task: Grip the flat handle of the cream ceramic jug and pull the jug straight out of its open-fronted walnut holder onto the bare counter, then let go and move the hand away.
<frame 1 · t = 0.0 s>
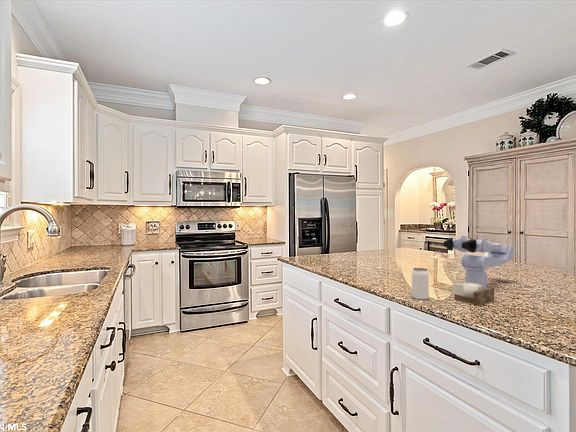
hand: (453, 244, 140), 22 cm above the table, tool horizontal, fingers open, 7 cm apart
holder: (471, 299, 133), on the table
jug: (471, 300, 133), on the table
can: (420, 298, 136), on the table
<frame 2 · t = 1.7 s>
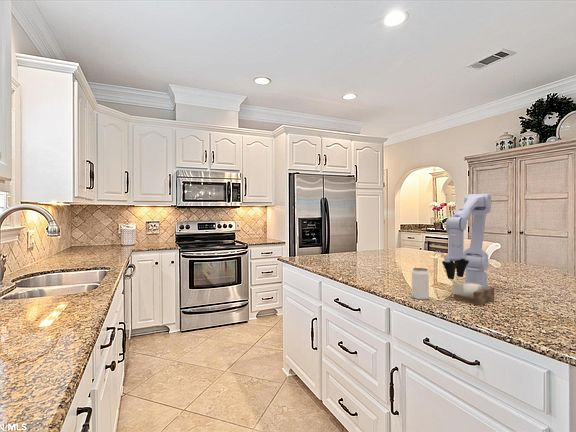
hand: (455, 277, 138), 8 cm above the table, tool pointing down, fingers open, 7 cm apart
nothing on the table moved.
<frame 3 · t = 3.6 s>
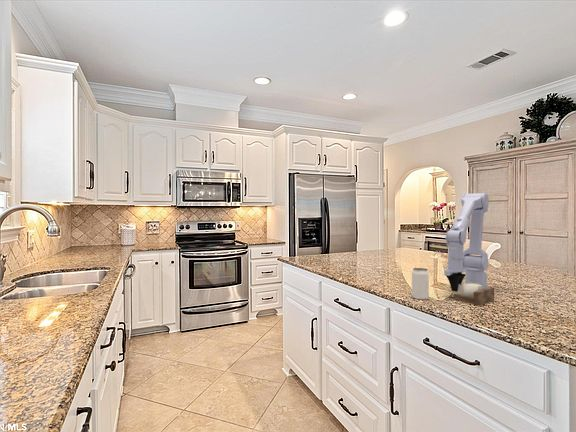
hand: (455, 290, 139), 2 cm above the table, tool pointing down, fingers closed on jug
jug: (471, 299, 133), on the table, touching gripper
everything else where it was.
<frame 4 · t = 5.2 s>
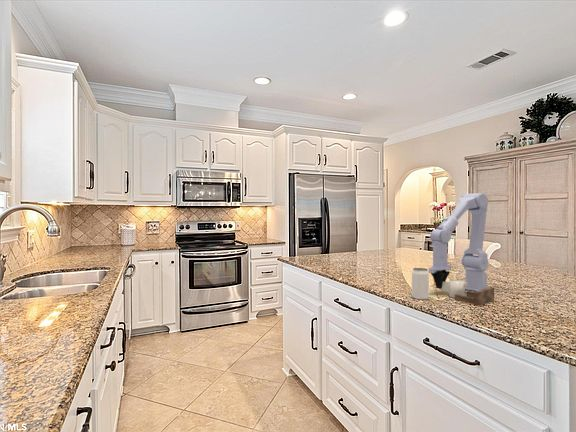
hand: (440, 287, 144), 2 cm above the table, tool pointing down, fingers closed on jug
jug: (457, 296, 138), on the table, touching gripper
everything else where it was.
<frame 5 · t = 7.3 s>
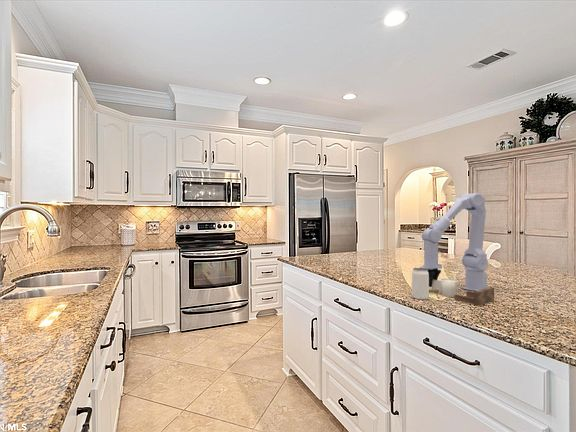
hand: (431, 286, 147), 2 cm above the table, tool pointing down, fingers open, 3 cm apart
jug: (448, 295, 141), on the table
everything else where it was.
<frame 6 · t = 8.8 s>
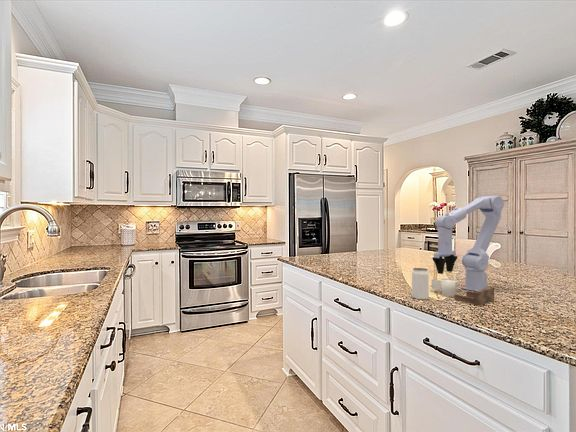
hand: (445, 272, 148), 8 cm above the table, tool pointing down, fingers open, 7 cm apart
nothing on the table moved.
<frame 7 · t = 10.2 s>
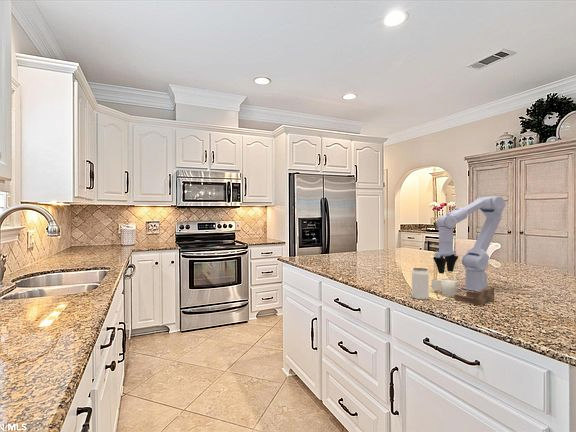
hand: (445, 272, 148), 8 cm above the table, tool pointing down, fingers open, 7 cm apart
nothing on the table moved.
at the end: jug inside the target area (1.9 cm from its centre), on the table; jug tilted 0°; the gripper is holding nothing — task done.
